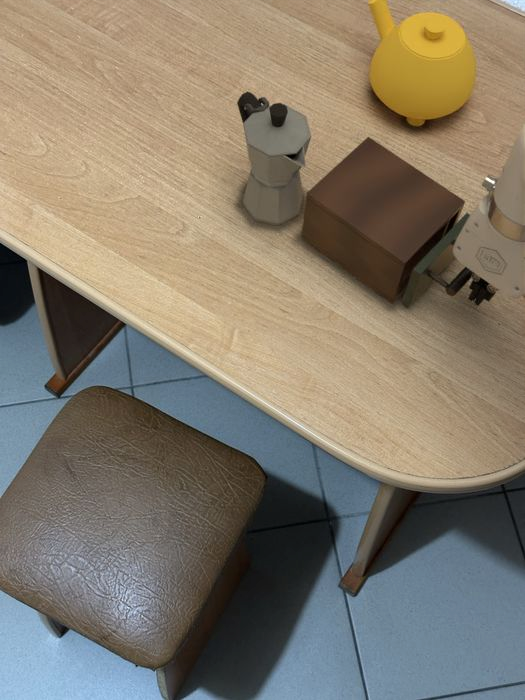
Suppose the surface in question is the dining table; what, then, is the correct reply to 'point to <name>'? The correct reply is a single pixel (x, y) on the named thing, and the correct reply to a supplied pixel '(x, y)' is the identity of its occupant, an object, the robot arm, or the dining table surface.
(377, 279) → the cabinet
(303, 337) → the dining table surface
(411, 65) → the teapot
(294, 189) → the coffee maker
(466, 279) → the drawer
